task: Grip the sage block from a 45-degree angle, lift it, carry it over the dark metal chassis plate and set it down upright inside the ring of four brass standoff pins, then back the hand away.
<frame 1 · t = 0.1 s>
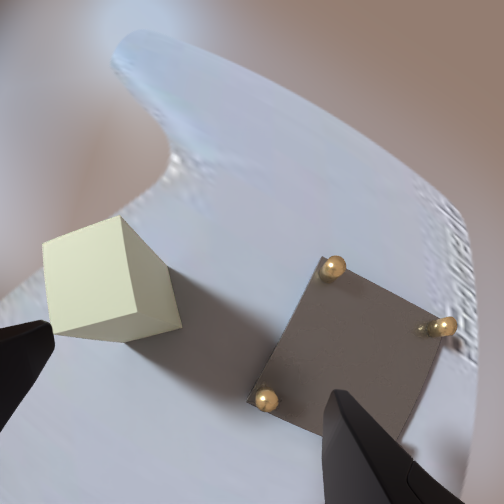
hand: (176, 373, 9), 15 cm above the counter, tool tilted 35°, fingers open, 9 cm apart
sage block: (144, 304, 24), on the counter
chassis: (354, 363, 23), on the counter
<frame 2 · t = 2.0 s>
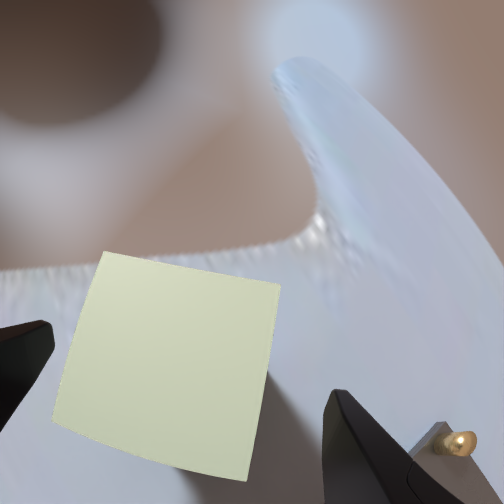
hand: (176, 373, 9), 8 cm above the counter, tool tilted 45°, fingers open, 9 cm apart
sage block: (202, 392, 16), on the counter
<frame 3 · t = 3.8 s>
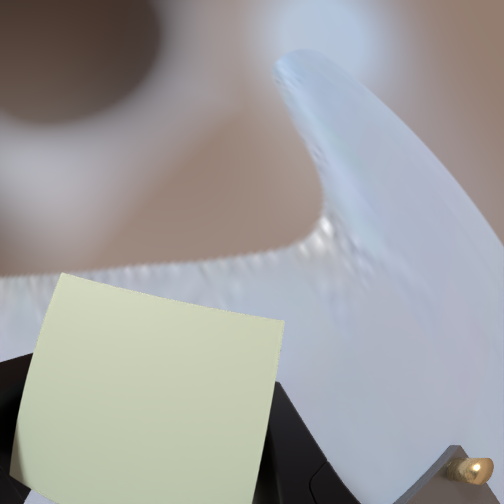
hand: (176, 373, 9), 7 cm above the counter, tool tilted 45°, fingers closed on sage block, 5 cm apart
sage block: (195, 417, 14), on the counter, touching gripper
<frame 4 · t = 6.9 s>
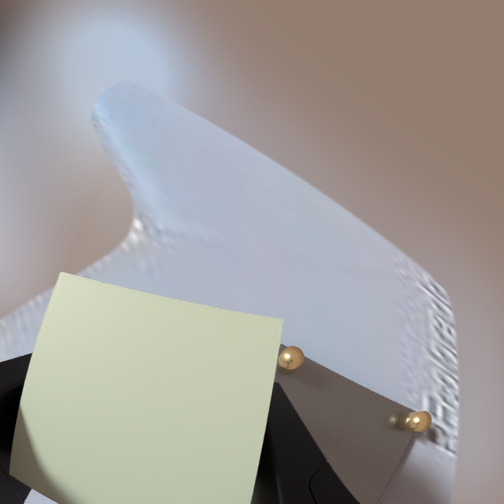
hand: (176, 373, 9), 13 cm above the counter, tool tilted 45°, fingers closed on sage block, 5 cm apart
sage block: (195, 417, 14), point 7 cm above the counter, touching gripper
chassis: (311, 457, 18), on the counter
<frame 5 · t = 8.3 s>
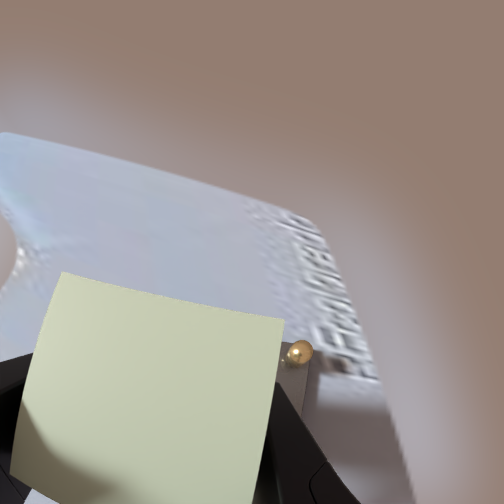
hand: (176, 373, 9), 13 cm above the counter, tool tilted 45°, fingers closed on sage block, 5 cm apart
sage block: (196, 417, 14), point 7 cm above the counter, touching gripper
chassis: (209, 415, 20), on the counter
when the fingers open (8 cm above the counter, at t = 9.8 s): sage block stays where it is, resting on chassis.
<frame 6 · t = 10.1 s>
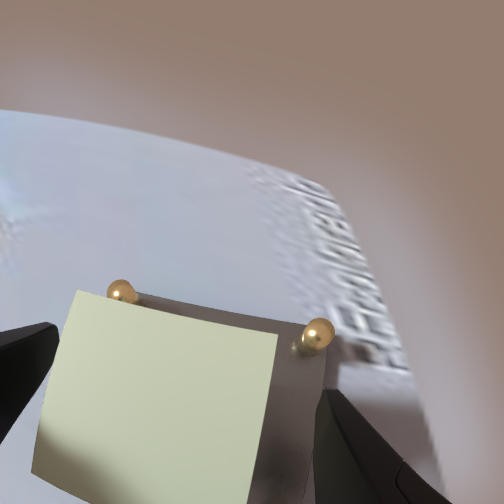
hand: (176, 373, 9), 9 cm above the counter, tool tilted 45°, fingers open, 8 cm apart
sage block: (197, 417, 15), point 1 cm above the counter, touching chassis
chassis: (200, 417, 15), on the counter
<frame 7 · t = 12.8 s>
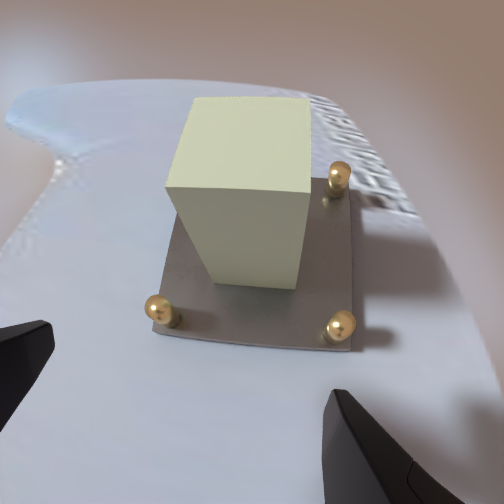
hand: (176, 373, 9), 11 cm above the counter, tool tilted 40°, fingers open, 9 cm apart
sage block: (258, 249, 21), point 1 cm above the counter, touching chassis
chassis: (259, 255, 22), on the counter
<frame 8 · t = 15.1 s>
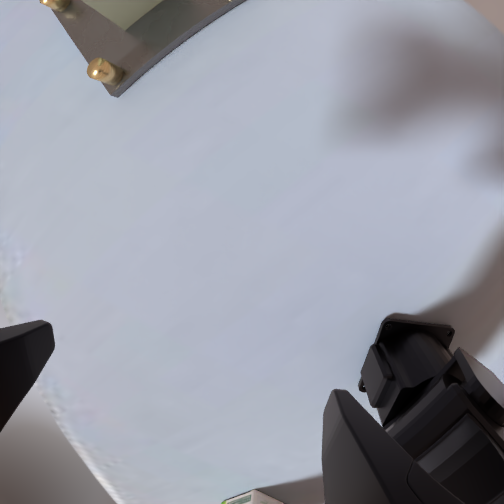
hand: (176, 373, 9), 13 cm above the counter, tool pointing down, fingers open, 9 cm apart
syrup box: (255, 502, 29), on the counter
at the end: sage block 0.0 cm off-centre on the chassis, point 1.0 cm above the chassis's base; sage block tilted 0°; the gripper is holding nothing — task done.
